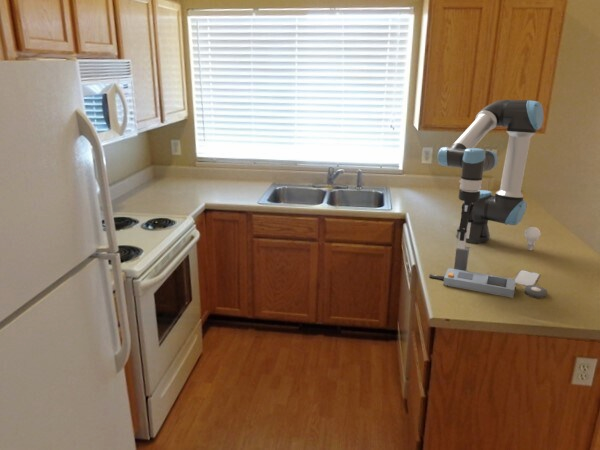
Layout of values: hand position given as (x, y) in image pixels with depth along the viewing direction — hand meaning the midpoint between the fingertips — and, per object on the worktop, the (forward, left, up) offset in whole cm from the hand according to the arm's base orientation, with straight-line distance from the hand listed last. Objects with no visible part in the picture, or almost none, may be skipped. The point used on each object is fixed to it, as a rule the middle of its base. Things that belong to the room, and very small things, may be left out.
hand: (463, 242), depth 181 cm
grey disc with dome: (+9, +27, -12) cm, 31 cm away
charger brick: (0, 0, -12) cm, 12 cm away
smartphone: (-4, +24, -13) cm, 28 cm away
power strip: (+11, +5, -12) cm, 17 cm away
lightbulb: (-38, +25, -12) cm, 47 cm away
